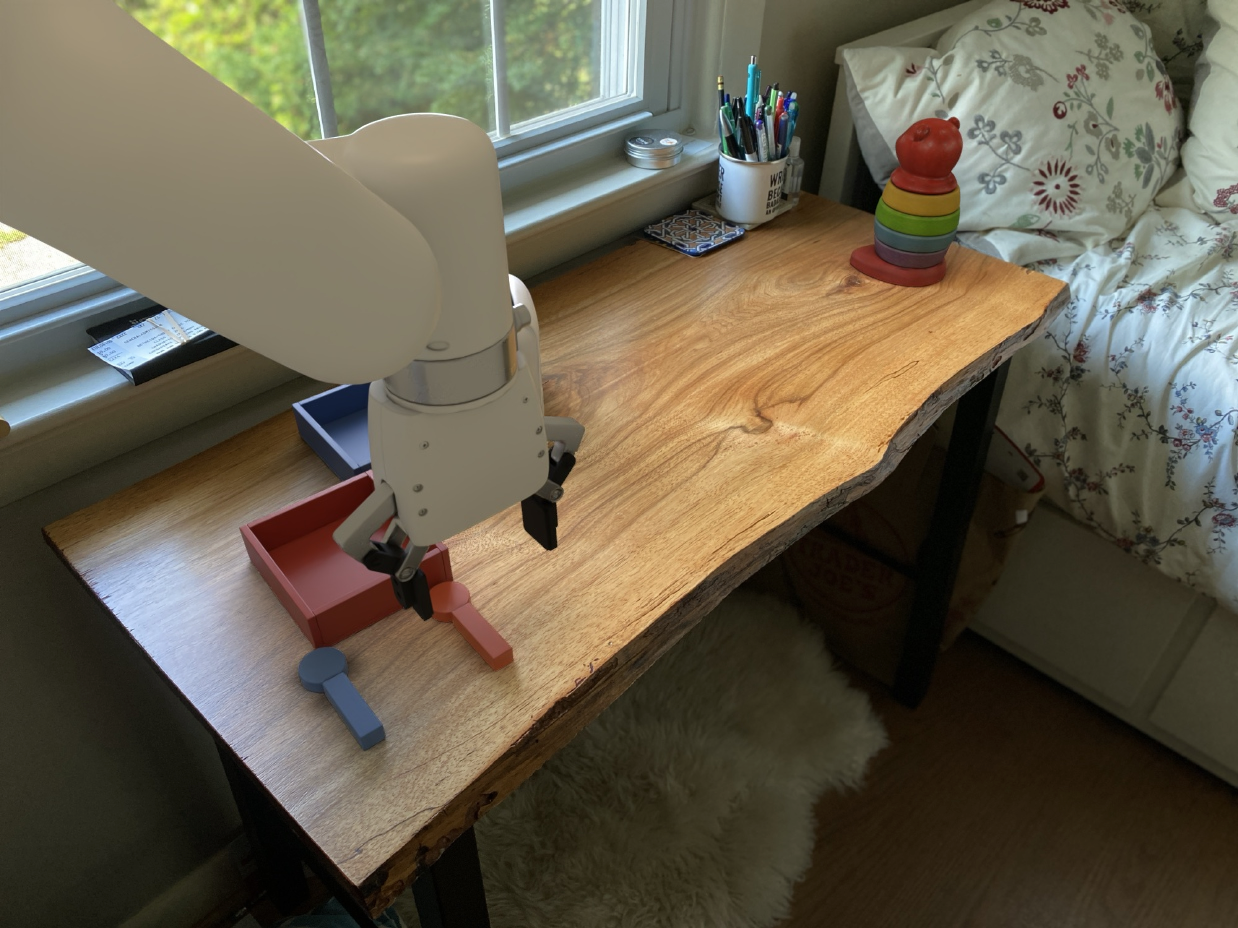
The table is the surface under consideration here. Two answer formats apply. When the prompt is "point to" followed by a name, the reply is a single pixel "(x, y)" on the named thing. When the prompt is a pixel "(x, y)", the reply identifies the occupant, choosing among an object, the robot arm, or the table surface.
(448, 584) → the red spoon
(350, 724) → the blue spoon
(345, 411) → the blue bin
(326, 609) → the red bin
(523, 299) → the photo printer
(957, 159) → the stacking bear
